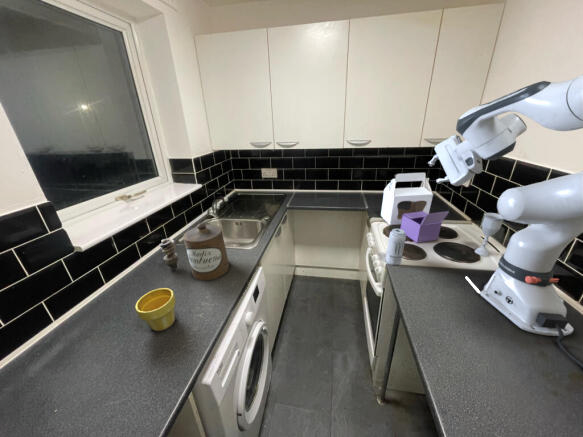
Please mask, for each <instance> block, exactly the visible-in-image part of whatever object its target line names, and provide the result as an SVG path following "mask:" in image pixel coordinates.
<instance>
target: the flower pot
mask: <svg viewBox="0 0 583 437" xmlns="http://www.w3.org/2000/svg"><path fill="white" fill-rule="evenodd" d="M176 302H177V300H176V296H175V293H174V291H173V290H172V289H170V288H169V287H159V288H155V289H153V290H150V291H148V292H147V293H145V294H144V295H142V296H141V297H140V298H139V299H138V300H137V301H136V304H135V305H134V306H135V308H134V309H135V311H136V313H137V315H138V318H140V319H141V320H143V321H145V323H147V325H148V326H149V327H150V328H151V329H152V330H154V331H156V332H161V331H164V330H167V329H168V328H170V327H171V326H172V325H173V324H174V322H175V320H176V314H175V305H176Z"/></svg>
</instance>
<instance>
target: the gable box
mask: <svg viewBox="0 0 583 437" xmlns="http://www.w3.org/2000/svg"><path fill="white" fill-rule="evenodd" d="M429 181H430V177H427V176H426V172H407V173H405V172H404V173H396V174H394V178H392V179H390V181H389V183H388V184H387V185H386V186H385V188H384V189H383V194H382V195H383V196H382V204H381V211H380V217H382V219H383V220H384V221H385V222H386V223H387V224H388V225H390V226H393V225H395V226H396V225H401V222H402V217H403V214H405V213H413V212H420V211H423V212H425V213H428V214H430V209H431V207H432V206H431V205H432V201H433V197H434V193H433V190H432V187H431V184H430V182H429ZM399 182H401V183H402V182H404V183H405V182H421V183H420V186H419V187H418V186H417V187H397V188H396V185H397V183H399ZM401 202H410V206H409V209H404V208H398V204H400V203H401Z"/></svg>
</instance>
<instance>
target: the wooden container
mask: <svg viewBox="0 0 583 437" xmlns="http://www.w3.org/2000/svg"><path fill="white" fill-rule="evenodd" d="M182 237H183V242H184V245H185V249H186V253H187V257H188V261H189V266H190V269H191V272H192V276H193V277H194V278H195V279H197V280H199V281H210V280H214V279H217V278H220V277H222V276H223V275H224V274H226V273H227V271H228V270H229V267H230V265H229V259H228V253H227V248H226V244H225V239H224V234H223V230H222V227H221V226H219V225H216V224H206V223H204V222H198V224H197V225H196V226H195V227H193V228H192V227H191V228H190V229H188V230H187V231H185V232H184V234H183V236H182Z"/></svg>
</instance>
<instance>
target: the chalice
mask: <svg viewBox="0 0 583 437" xmlns="http://www.w3.org/2000/svg"><path fill="white" fill-rule="evenodd" d="M483 216H484V217H483V221H482V223H481V229H482V232H483V235H484V236H485V237H484V238H483V242H482V246H478V247H477V248H476V249H474V253H475V254H477V255H479V256H483V257H488V256H489V255H490V254H489V249H488V248H487V247H486V246H487V245H488V241H489V237H492V236H494V235H495V234H496V233H497V232H499V230H501V227H502V225H503V223H504V221H505V219H504V218H502V216H501V215H500V214H499V213H495V212H485V213H483Z"/></svg>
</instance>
